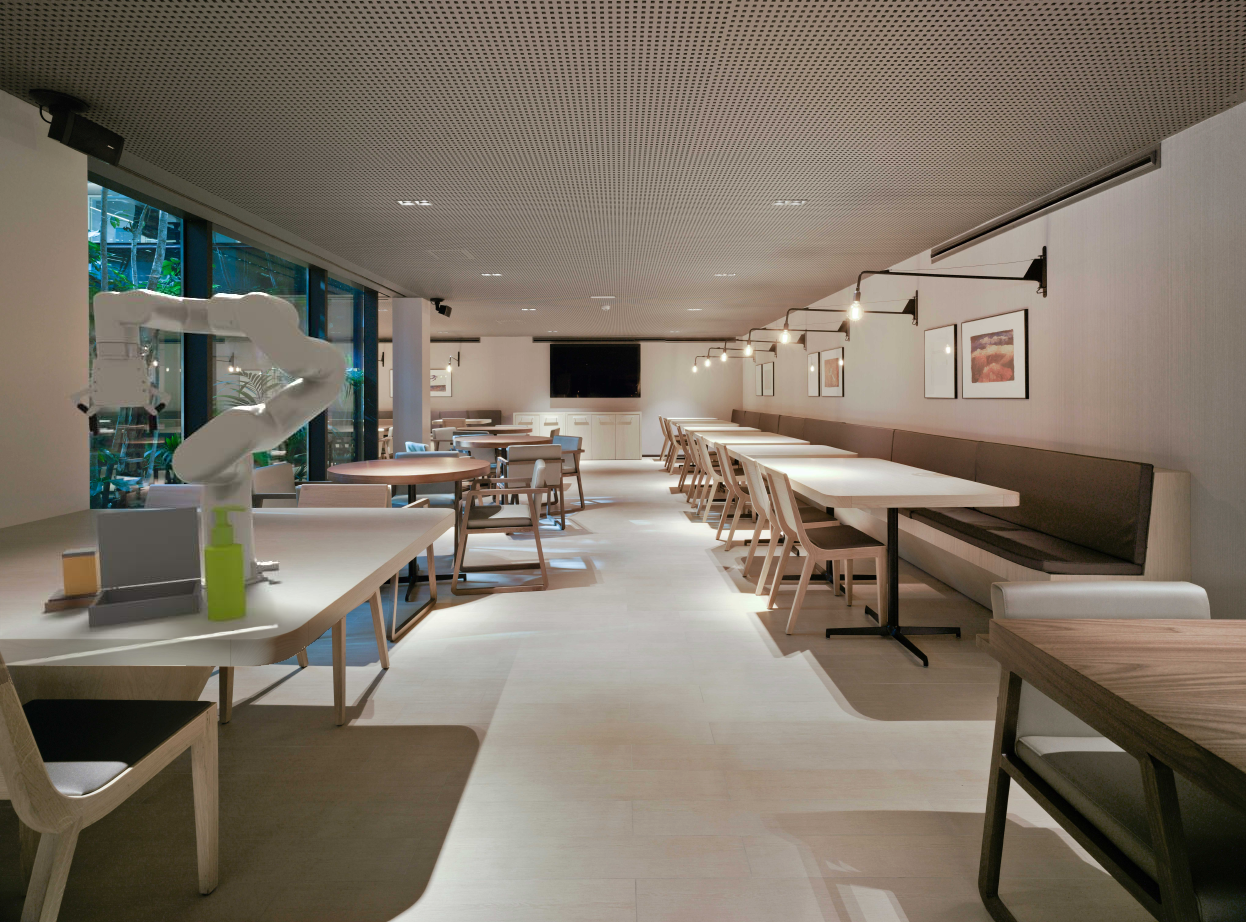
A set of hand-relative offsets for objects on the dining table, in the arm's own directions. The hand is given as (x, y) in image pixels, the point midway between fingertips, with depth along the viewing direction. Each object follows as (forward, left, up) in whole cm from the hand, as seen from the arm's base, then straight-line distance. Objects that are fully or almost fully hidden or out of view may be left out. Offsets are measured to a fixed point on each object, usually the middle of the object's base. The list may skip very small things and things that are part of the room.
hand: (124, 434), depth 150 cm
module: (+7, +13, -30) cm, 33 cm away
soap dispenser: (-18, +40, -32) cm, 55 cm away
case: (-5, +28, -32) cm, 43 cm away
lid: (-5, +20, -21) cm, 30 cm away
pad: (+7, +13, -32) cm, 36 cm away
